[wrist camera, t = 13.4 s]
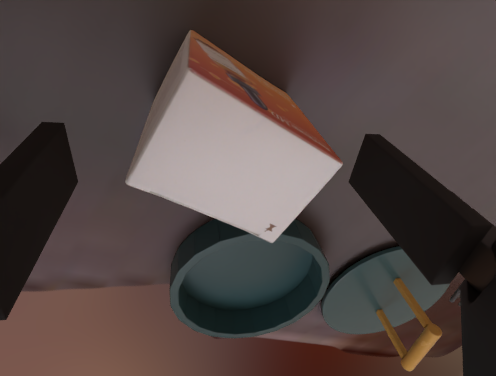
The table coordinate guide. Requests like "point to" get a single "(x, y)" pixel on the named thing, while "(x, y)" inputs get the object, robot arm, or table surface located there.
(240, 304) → the tin
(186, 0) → the table surface
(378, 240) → the table surface
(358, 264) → the tin lid
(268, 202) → the small box
